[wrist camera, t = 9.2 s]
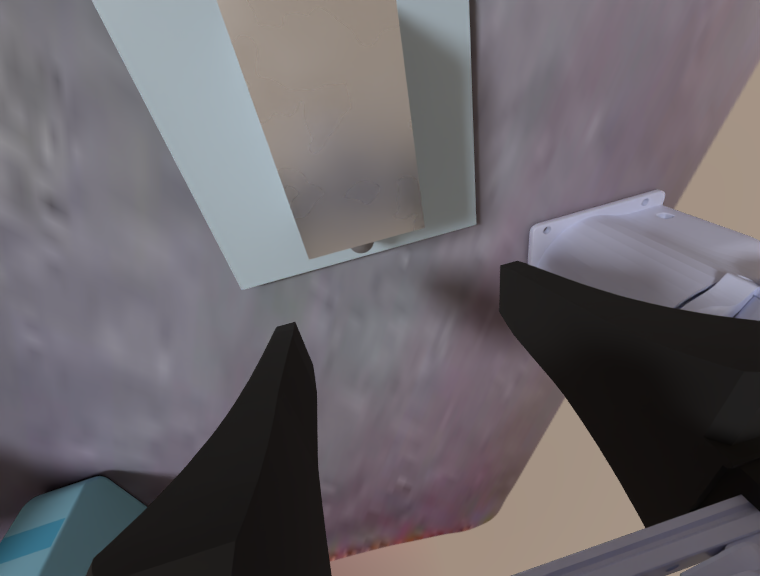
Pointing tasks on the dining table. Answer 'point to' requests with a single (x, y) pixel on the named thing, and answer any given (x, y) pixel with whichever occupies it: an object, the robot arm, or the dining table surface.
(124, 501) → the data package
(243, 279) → the pegged base plate
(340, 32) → the brushed metal pillar
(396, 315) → the dining table surface
